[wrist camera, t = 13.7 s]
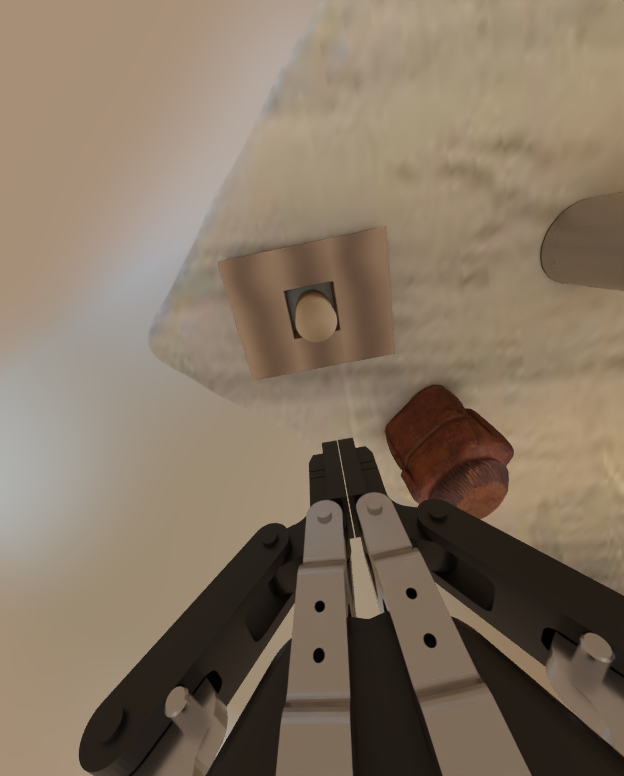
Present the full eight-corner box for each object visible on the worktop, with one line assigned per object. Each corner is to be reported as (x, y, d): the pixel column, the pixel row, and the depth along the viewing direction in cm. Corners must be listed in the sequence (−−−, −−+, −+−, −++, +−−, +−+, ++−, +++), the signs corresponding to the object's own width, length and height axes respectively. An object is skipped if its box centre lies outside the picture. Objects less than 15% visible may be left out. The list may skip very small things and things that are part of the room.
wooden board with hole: (376, 228, 34) (386, 226, 30) (386, 344, 40) (395, 353, 36) (225, 260, 34) (217, 261, 31) (257, 368, 40) (253, 380, 37)
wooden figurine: (405, 448, 47) (460, 552, 31) (376, 429, 45) (419, 528, 29) (461, 396, 44) (558, 484, 27) (433, 373, 42) (518, 451, 25)
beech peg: (325, 284, 36) (334, 296, 27) (330, 317, 38) (340, 338, 29) (292, 291, 36) (290, 304, 27) (299, 323, 38) (299, 346, 29)
